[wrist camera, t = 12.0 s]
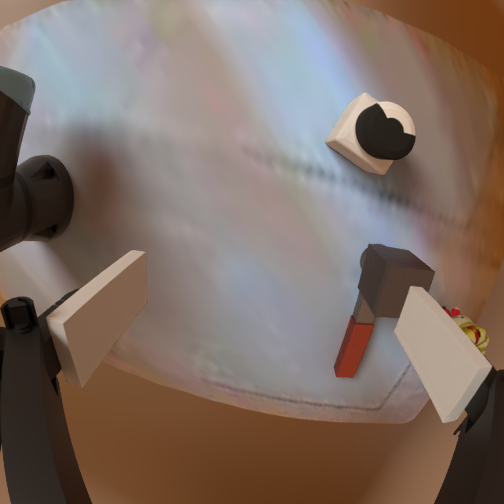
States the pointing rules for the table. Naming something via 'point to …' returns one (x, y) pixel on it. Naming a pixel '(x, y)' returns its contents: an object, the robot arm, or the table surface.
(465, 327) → the toy
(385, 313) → the dark wooden cube
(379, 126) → the medicine bottle
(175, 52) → the table surface
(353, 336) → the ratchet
